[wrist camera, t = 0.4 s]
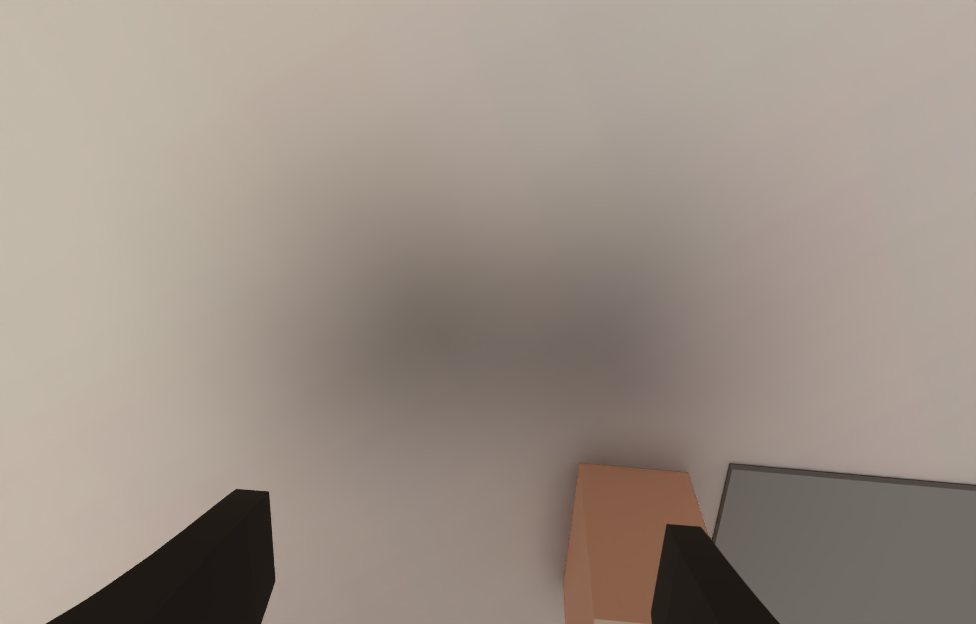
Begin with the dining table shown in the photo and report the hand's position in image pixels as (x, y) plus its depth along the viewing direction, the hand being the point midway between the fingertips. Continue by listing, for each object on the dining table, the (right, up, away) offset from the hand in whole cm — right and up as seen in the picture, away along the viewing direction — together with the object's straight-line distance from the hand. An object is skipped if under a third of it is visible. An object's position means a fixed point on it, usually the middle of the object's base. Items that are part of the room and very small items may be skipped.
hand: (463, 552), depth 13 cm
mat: (+13, -5, +12) cm, 18 cm away
